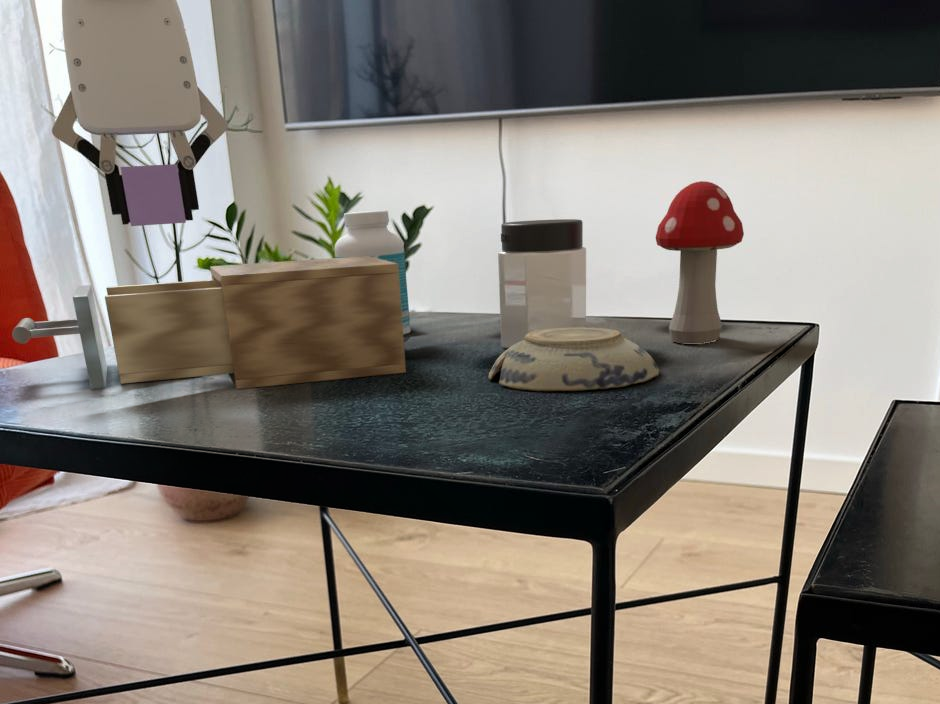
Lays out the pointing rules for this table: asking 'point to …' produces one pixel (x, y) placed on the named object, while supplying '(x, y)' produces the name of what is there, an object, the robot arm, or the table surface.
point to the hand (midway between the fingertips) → (157, 219)
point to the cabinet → (312, 320)
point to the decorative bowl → (574, 361)
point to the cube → (153, 194)
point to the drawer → (148, 331)
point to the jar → (541, 277)
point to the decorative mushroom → (698, 256)
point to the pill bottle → (375, 248)
